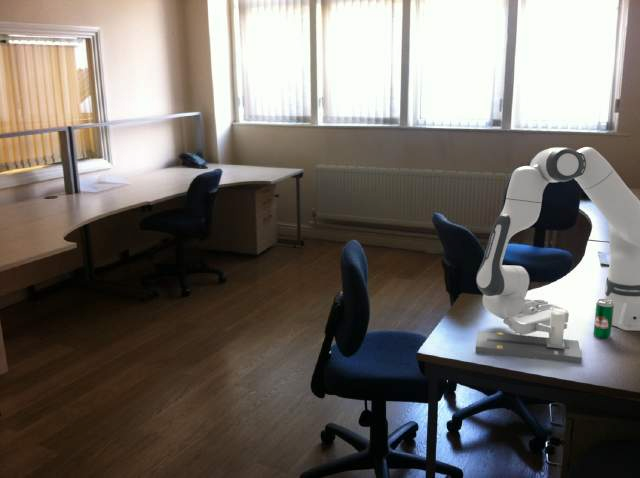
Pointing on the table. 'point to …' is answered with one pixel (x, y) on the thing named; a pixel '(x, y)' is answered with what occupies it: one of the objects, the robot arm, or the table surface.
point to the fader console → (526, 347)
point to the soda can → (603, 318)
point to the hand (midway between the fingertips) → (559, 328)
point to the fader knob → (556, 330)
